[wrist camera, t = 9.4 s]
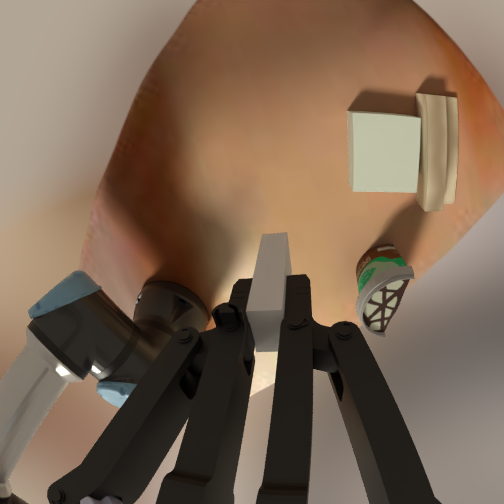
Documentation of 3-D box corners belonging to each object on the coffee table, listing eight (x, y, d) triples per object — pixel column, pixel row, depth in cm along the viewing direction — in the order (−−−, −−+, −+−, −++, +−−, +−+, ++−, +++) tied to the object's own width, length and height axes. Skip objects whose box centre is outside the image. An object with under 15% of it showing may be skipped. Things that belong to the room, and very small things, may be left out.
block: (347, 181, 36) (353, 191, 33) (346, 110, 31) (352, 112, 28) (406, 182, 35) (416, 192, 32) (408, 114, 30) (420, 118, 26)
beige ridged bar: (416, 201, 36) (425, 211, 33) (415, 93, 27) (425, 94, 25) (451, 200, 34) (461, 210, 31) (453, 97, 26) (465, 99, 23)
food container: (360, 230, 40) (374, 270, 31) (395, 236, 39) (416, 275, 31) (341, 293, 46) (347, 337, 38) (373, 296, 46) (383, 339, 38)
